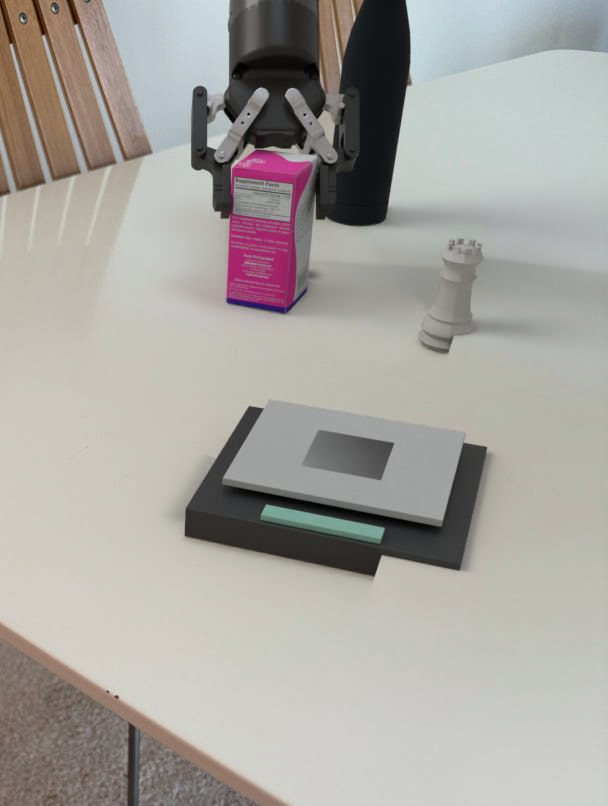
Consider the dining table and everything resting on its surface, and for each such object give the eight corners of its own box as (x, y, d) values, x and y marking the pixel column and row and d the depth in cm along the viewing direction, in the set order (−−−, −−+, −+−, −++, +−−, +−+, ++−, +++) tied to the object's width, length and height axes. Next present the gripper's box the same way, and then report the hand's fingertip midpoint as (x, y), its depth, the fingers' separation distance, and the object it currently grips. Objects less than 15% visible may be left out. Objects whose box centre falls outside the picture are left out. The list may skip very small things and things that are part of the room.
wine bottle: (313, 218, 108) (354, -143, 89) (340, 202, 112) (385, -146, 93) (370, 230, 106) (425, -140, 86) (396, 213, 110) (454, -143, 90)
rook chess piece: (474, 356, 83) (498, 255, 77) (417, 352, 83) (436, 251, 78) (470, 334, 86) (492, 235, 81) (415, 329, 87) (433, 231, 81)
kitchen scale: (480, 473, 69) (491, 432, 67) (453, 592, 59) (464, 549, 57) (246, 431, 73) (249, 391, 71) (184, 536, 63) (185, 493, 61)
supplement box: (245, 281, 95) (256, 146, 87) (308, 292, 93) (324, 155, 85) (221, 303, 91) (230, 164, 83) (286, 315, 89) (301, 173, 81)
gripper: (190, -5, 84) (189, 190, 82) (369, -4, 84) (371, 192, 82) (186, 55, 91) (185, 236, 90) (350, 57, 91) (351, 237, 90)
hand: (274, 214), depth 86 cm, fingers closed on supplement box, 7 cm apart
